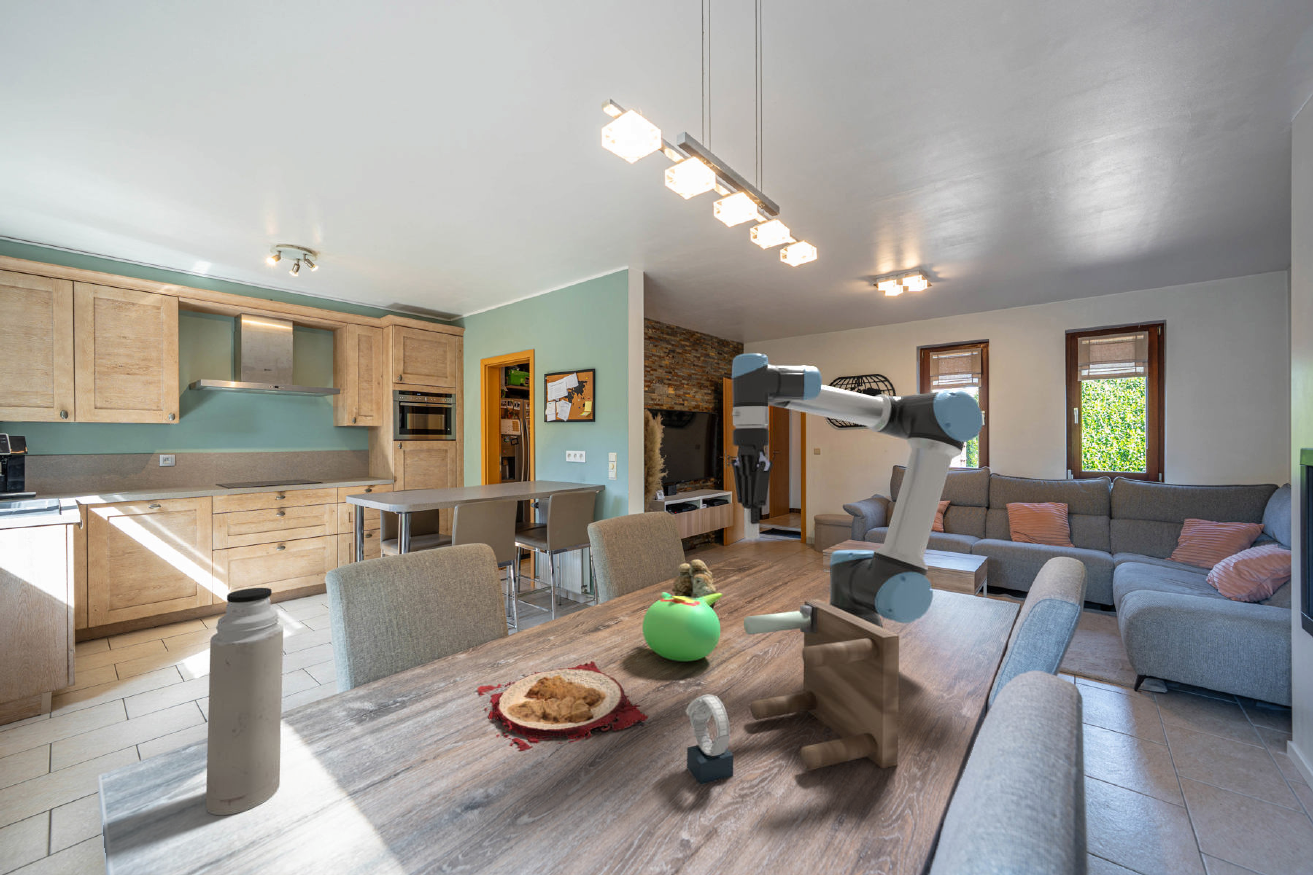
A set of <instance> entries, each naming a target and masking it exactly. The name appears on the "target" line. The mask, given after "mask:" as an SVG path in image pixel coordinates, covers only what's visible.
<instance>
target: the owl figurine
mask: <svg viewBox="0 0 1313 875" xmlns="http://www.w3.org/2000/svg"><path fill="white" fill-rule="evenodd" d="M689 562H690V563H686V562H685V563H681V564H679V565H678V568H677V570H678V575H677V576H676V577H675V579H674V581H673V587H672V588H671V591H672V592H674V596H686V597H693V598H700V597H703V596H707V595H711V594H716V593H717V590H716V586H715V585H714V583H715V582H714V579H713V578H714V577H713V572H711V571H710V570H709V569H708V566H707V565H706V564H705V562H704V561H703V560H700V559H692V560H691V561H689ZM716 602H717V601H715V602H714V603H713V604H711V605H710V607H711V608H712V609H713V610H714V608H715V605H716ZM719 622H720V623H721V620H719Z"/></svg>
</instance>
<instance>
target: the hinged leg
mask: <svg viewBox="0 0 1313 875" xmlns="http://www.w3.org/2000/svg"><path fill="white" fill-rule="evenodd" d="M811 617H812V607H810V606H807V605H800V606H799V610H796V611H787V612H778V613H777V612H776V613H770V614H759V615H758V614H757V615H750V616H745V617H744V619H743V627H744V631H745V632H746V634H747V635H749V636H751V635H759V634H765V633H766V634H767V633H774V632H784V631H790V630H799V632H800V633H803V634H804V633H811Z"/></svg>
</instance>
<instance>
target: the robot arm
mask: <svg viewBox="0 0 1313 875" xmlns="http://www.w3.org/2000/svg"><path fill="white" fill-rule="evenodd" d="M822 381H823V380H822V374H821V372H820V370H819V369H818V367H816V366H813V365H812V366H810V365H804V364H802V365H794V364H793V365H788V364H787V365H785V364H784V365H783V364H782V365H781V364H778V365H777V364H776V365H774V364H770V362H769V358H768V356H767V355H766V354H763V353H753V352H752V353H743V354H739V355H736V356H734V358H733V359H732V366H731V383H732V384H731V388H732V412H731V415H732V425H733V426H734V427H735V428H734V429H733V430H732V445H733V446H735V447H737V448H738V449H737V451H736V452H737V453H736V455H737V457H736V458H735V459H734V458H733V459H731V460H730V463H731V467H732V469H733V475H734V483H735V484H734V485H735V490H736V491H735V492H736V498H737V499H736V500H737V503H738V504H741V506H742V508H743V520H744V526H743V528H744V530H743V531H744V532H743V533H744V539H745V540H758V539H760V509H761V508H762V507H765V506H767V500H768V491H769V484H770V475H771V471H772V468H773V465H774V462H773V460H768V459H767V458H766V452H765V446H768V445H769V443H770V442H769V441H770V438H769V437H770V434H769V432H770V431H769V429H768V428H767V426H769V425H770V422H769V421H770V419H769V418H770V417H769V415H770V413H769V406H773V407H776V408H782V409H783V408H784V409H788V410H792V411H797V412H800V413H801V412H802V413H806V414H811V415H816V416H820V417H825V418H829V419H833V420H839V421H844V422H848V423H853V424H857V425H861V426H865V427H867V428H868V430H870V431H872V432H875V433H879V434H883V435H887V436H891V437H895V438H897V439H903V440H906V442H907V444H908V445H909V447H910V449H911V452H910V454H909V458H908V461H907V465H906V468H905V471H904V474H903V478H902V481H901V485H900V488H899V492H898V496H897V498H896V501H895V505H894V509H893V511H892V515H891V519H890V522H889V526H888V528H887V532H886V536H885V539H884V542H883V545H882V546H880V547H879V548H877V549H874V550H867V549H839V550H834V551H833V552H832V553H831V554H830V562H829V574H830V575H829V605H831V606H834V607H836V608H838V609H841V610H843V611H845V612H847V613H850V614H852V615H854V616H856V617H859V618H861V619H863V620H865V621H868V622H870V623H872V624H874V625H877V626H879V627H881V628H883V629H884V627H883V623H882V619H881V617H882V618H883V619H886V620H889V621H893V622H895V623H900V624H911V623H913V622H915V621H916V620H918V619H921V618H922V617H924V616H925V615H926V613H927V612H928V611H929V610H930V607H931V605H932V602H933V597H934V591H933V589H932V585H931V582H930V581H929V579H928V578H927V574H928V570H929V567H928V565H927V564H926V562H925V560H924V558H925V554H926V550H927V546H928V543H929V540H930V536H931V533H932V529H933V526H934V522H935V520H936V519H935V518H936V515H937V512H938V508H939V504H940V502H941V498H942V495H943V492H944V488H945V483H946V480H947V477H948V474H949V470H950V467H951V463H952V460H953V459H954V458H955V457H958V456H960V455H961V454H962V453H963V449H964V445H965V443H967V442H970V441H972V440H973V439H974V438H977V436H978V435H979V434H980V432H981V430H982V427H983V414H982V410H981V408H980V406H979V404H978V402H977V401H976V399H975V398H974V397H973V396H972V395H970V394H969V393H967V392H965V391H962V390H946V389H945V390H941V391H936V392H935V391H934V392H929V393H919V394H918V393H917V394H910V395H895V396H893V395H887V394H882V393H881V394H876V395H875V396H872V395H868V394H865V393H859V392H856V391H851V390H845V389H841V388H837V387H833V386H830V385H825V384H822V383H823V382H822Z"/></svg>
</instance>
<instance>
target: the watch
mask: <svg viewBox="0 0 1313 875" xmlns="http://www.w3.org/2000/svg"><path fill="white" fill-rule="evenodd" d="M685 714H686V716H688V718H689V723H690V726H691V727H692V729H693V730H692V731H693V736H694V738H695V740H696V743H697V744H696V745H692V746H688V747H687V749H686V769H687V770H688V771H689V773H690V774H691V776H693V777H694V779H695V781H697V783H698V784H699V785H700V786H703V785H706V784H710V783H712V782H713V783H714V782H716V781H720V780H725V779H727V778H730V777H734V754H733V753H732V752H731V750H729V749H728V745H729V742H730V739H731V735H730V724H729V723H730V722H729V718H728V713H727V711H726V708H725V706H724V704H723V702H722V701H721V699H720V698H719V697H718V696H717V695H714V694H703V695H699V696H698V697H696V698H695V699H694V700H692V701H691V702H690V703H689V704H688V705H687V708H686V709H685ZM712 717H713V719H714V724H715V728H716V736H714V738H713V740H712V739H711V737H710V734H709V729H708V727H707V723H709V721H710V720H711V718H712Z"/></svg>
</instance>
